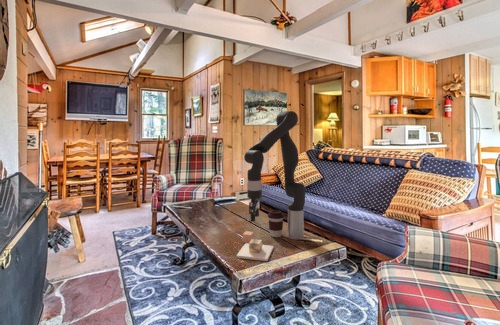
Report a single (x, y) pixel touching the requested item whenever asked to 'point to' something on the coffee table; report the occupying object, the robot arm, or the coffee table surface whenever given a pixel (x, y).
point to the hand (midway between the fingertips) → (254, 218)
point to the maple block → (255, 246)
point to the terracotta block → (247, 236)
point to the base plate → (261, 256)
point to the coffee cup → (275, 223)
